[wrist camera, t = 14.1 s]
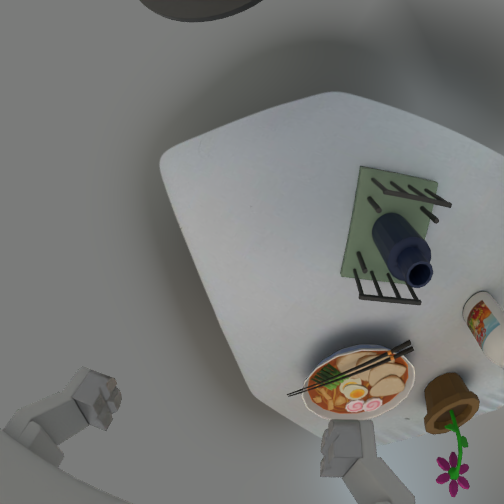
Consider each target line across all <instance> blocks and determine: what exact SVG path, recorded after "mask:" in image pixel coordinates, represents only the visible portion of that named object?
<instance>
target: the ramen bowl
mask: <svg viewBox="0 0 504 504" xmlns="http://www.w3.org/2000/svg"><path fill="white" fill-rule="evenodd" d="M409 345H411V341H410V340H408V341H406V342H405V343H403V344H401V345H399V346H397V347H395V348H393V349H389V348H386V347H383V346H381V345H362V344H358V345H355V346H351V347H347V348H343V349H340V350H339V351H337V352H335V353H334V354H332V355H330V356H329V357H327V358H325V359H324V360H322V361H321V362H320V363H319V364H318V365H317V366H316V368H315V369H314V370H313V371H312V372H311V374H310V375H309V376H308V377H307V378H306V380H305V381H304V384H303V389H300V390H298V391H301V390H302V392H299V393H296V394H300V393H302V396H301V397H302V399H303V401H304V403H305V405H306V407H307V409H308V410H310V411H311V412H313V413H314V414H316V415H317V416H319V417H321V418H325V419H328V420H331V419H353V420H366V419H371V418H375V417H378V416H380V415H382V414H384V413H386V412H388V411H390V410H392V409H394V408H395V407H396V406H397V405H398V404H400V403H401V402H402V401H403V400H404V399H405V398H406V397H407V396H408V395H409V393H410V391H411V389H412V387H413V385H414V383H415V368H414V367H413V365H412V364H411V363H410V362H409V361H408V360H407V358H406V357H405V356H403V355H405V354H408V353H410V352H412V351H414V349H413V347H409V348H407V349H405V350H403V351H401V352H397V351H399V350H401V349H403V348H405V347H407V346H409ZM298 391H295V392H298ZM295 392H292V393H295ZM292 393H289V394H292ZM289 394H287V395H289ZM296 394H293V395H296ZM293 395H289V396H293ZM289 396H288V397H289Z"/></svg>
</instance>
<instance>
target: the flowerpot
mask: <svg viewBox="0 0 504 504" xmlns="http://www.w3.org/2000/svg"><path fill="white" fill-rule="evenodd" d="M425 399H426V407H427V415H426V416H425V417H424V424H425V429H426V432H428V433H431V434H441V433H446V432H449V431H451V430H452V431H453V432H456V435H457V440H458V451H459V454H458V459H457V456H456V454H455V452H452V453H451V455H450V457H449V463H450V465H451V468H450V465H449V463H448V462H447V461H446V460H445V459H444V458H441V457H438V458H437V462H438V465H439V466H440V467H441V468H442V469H443V470H445V471H448V473H444V474H441V475H440V476H438V478H437V479H436V482H437V483H439V484H443V483H445V482H447V481H449V479H452V481H451V482H450V484H449V492H450V494H451V496H452V497H455V496H456V494H457V492H458V484H459V485H460V486H461V487H462V488H464V489H469V487H470V486H469V483H468V481H467V480H466V479H465V478H464V477H461V476H459V474H463V473H465V472H467V471H468V469H469V466H468V465H467V464H463V465H461V460H462V446H463V447H468V442H467V439H466V437H464V436H462V437H461V435H460V431H459V428H458V427H460V426H461V425H463V424H464V423H466V422H467V421H468V420H470V419H471V418H472V417H473V416H474V414H475V413H476V412H477V411H478V409H479V403H480V401H479V399H478V397H477V395H476V394H474V393H473V392H471V391H469V390H468V388H467V387H466V385H465V383H464V382H463V380H462V379H461V377H460V376H459V375H458V374H457V373H446V374H443V375H441V376H439V377H437V378H435V379H434V380H433V381H432V382H430V383H429V384H428V386H427V387H426V389H425ZM455 467H456V468H455ZM456 480H457V481H458V483H457V482H456Z"/></svg>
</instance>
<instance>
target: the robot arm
mask: <svg viewBox="0 0 504 504" xmlns="http://www.w3.org/2000/svg"><path fill="white" fill-rule="evenodd" d="M116 385H117V382H116V380H115V378H113V377H110V376H107V375H104V374H101V373H98V372H96V371H94V370H91V369H88V368H86V367H81V368H80V369H78V371H77V372H76V374H75V375H74V376H73V378H72V379H71V380H70V382H69V383H68V384H67V386H66V387H65V388H64V390H63V391H62V393H60V392H58V393H55V394H53V395H51V396H48V397H46V398H44V399H42V400H40V401H37V402H35V403H32V404H30V405H28V406H25V407H23V408H21V409H18V410H17V411H16V413H15V414H14V415H13V417H12V418H11V419H10V421H9V422H8V424H7V425H6V426H5V428H4V429H3V430H1V429H0V504H133V503H130V502H128V501H126V500H123V499H120V498H118V497H115V496H113V495H111V494H109V493H107V492H104V491H102V490H100V489H98V488H96V487H93V486H91V485H89V484H87V483H85V482H83V481H81V480H79V479H77V478H75V477H74V476H72V475H70V474H68V473H66V472H64V471H63V470H61V469H59V468H58V467H59V465H60V463H61V461H62V460H63V457H64V453H63V452H62V451H61V450H60V449H59V448H58V447H57V445H59V444H60V443H62V442H64V441H65V440H67V439H69V438H70V437H72V436H73V435H75V434H77V433H78V432H80V431H81V430H83V429H84V428H86V427H87V426H89V425H92V426H94V427H97V428H99V429H102V430H105V431H107V429H108V427H109V425H110V423H111V422H112V420H113V418H112V414H113V413H114V412H116V411H118V409H119V407H120V404H121V400H122V398H121V392H120V390H119V389H118V388H116ZM321 453H322V454H323V455H324V457H323V459H322V461H321V470H320V477H343V478H342V479H343V481H344V482H345V484H346V486H347V487H348V489H349V490H350V492H351V494H352V495H353V497H354V498H355V500H356V502H357V503H358V504H415V496H414V495H413V494H412V493H411V492H410V491H409V490H408V489H407V487H406V486H405V485H404V484H403V483H402V482H401V481H400V479H399V478H398V477H397V476H396V475H395V474H394V473H393V471H392V470H391V469H390V468H389V467H388V466H387V464H386V463H385V462H384V461H383V460H382V458H381V457H380V458H379V457H377V452H376V443H375V434H374V426H373V422H372V420H353V419H331V420H330V422H329V424H328V429H326V430H325V432H324V434H323V438H322V444H321Z"/></svg>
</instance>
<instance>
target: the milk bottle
mask: <svg viewBox="0 0 504 504" xmlns="http://www.w3.org/2000/svg"><path fill="white" fill-rule="evenodd" d="M463 318H464V320H465V322H466V324H467V325H468V327H469V329H470V330H471V332H472V334H473V335H474V337H475V339H476V340H477V342H478V344H479V346H480V347H481V349H482V351H483V352H484V354H485V355H486V356H487V358H488V359H489V360H490V361H492V362H493V363H495V364H497V365H499V366H500V367H501V368H503V369H504V311H503V310H502V309H501V307H500V306H499V305H498V303H497V302H496V301H495V300H494V298H493V297H492V296H491V295H490V294H489V293H487V292H479V293H476V294H475V295H473V296H472V297H471V298H470V299H469V300H468V301H467V303H466V305H465V307H464V310H463Z"/></svg>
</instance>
